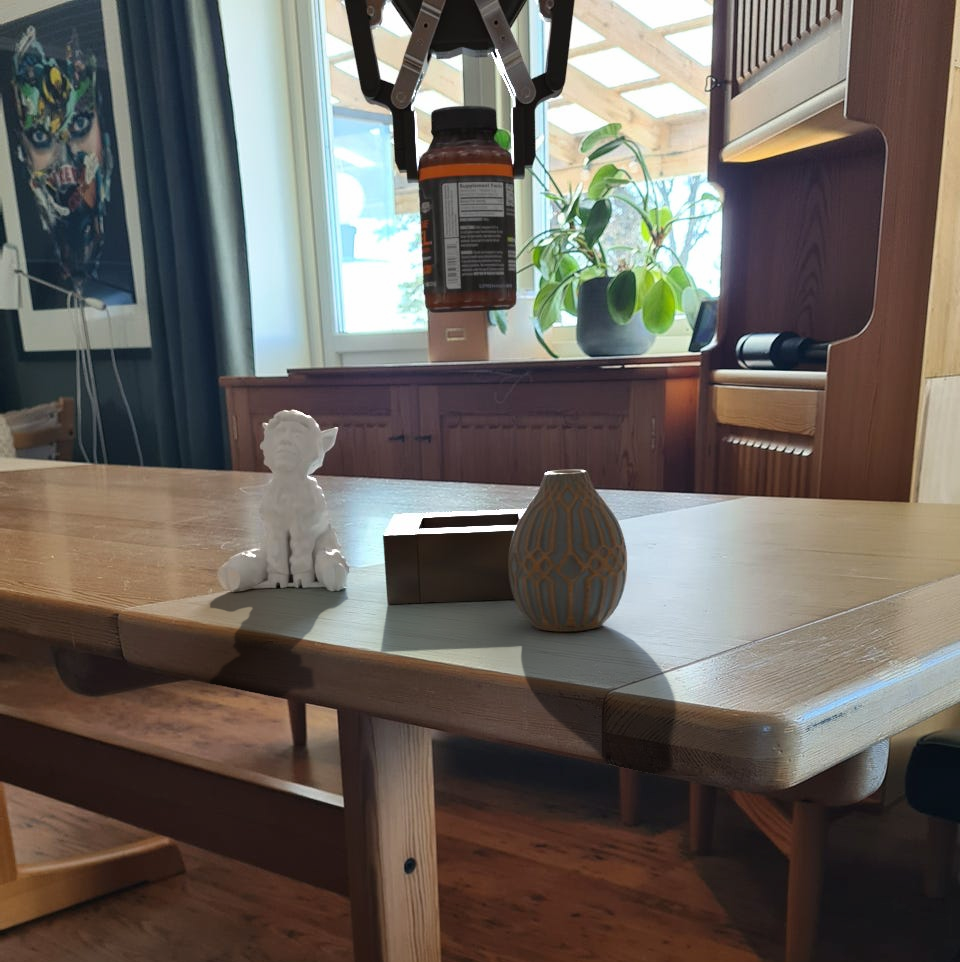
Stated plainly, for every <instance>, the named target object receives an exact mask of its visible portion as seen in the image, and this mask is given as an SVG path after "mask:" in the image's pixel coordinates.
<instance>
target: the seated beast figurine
mask: <svg viewBox="0 0 960 962" xmlns="http://www.w3.org/2000/svg"><path fill="white" fill-rule="evenodd" d="M261 425H262V428H263V429H264V430H263V435H264V437H263V441H261V442H260V444H259V449H260V450H261V451H262V453H263V457H264V458H263V465H264V466H266V467H267V468H268V469H269V470H270V471H271V473H272V474H273V476H271V478H270V479H269V481H268V482H266V483H265V484H264V486H263V489H264V490H263V491H264V493H263V495H262V496H261V501H260V504H259V508H258V512H259V514H260V515H261V520H262V521H263V522H264V525H265V526H264V531H265V534H264V535H263V536H262V537H260V545H259V546H258V547H257V548H252V549H249V550H245V551H244V550H243V551H241V552H240V553H239V552H238V553H237V554H235V555H232V556H231V557H229V558H228V561H226V562H225V563H224V564H223V565H221V566H220V567H219V568H218V569H217V574H216V575H217V579H218V583H219V585H220V586H221V588H222V589H224V590H226V591H229V592H231V593H236V592H244V591H247V590H252V589H270V588H271V589H276V588H277V587H279V586H280V587H279V588H281V589H284V588H287V587H295V588H297V589H298V588H300V587H302V588H303V589H304V588H305V589H306V588H326V589H327V591H330V592H335V591H336V592H340V591H341V590H344V588H345V587H347V584H348V575H349V573H350V566H349V564H348V563H347V558H346V557H344V555H343V552H342V547H343V546H342V545H341V543H340V542H339V537H338V535H337V534H336V533H337V532H336V530H335V528H334V527H333V525H332V522H331V520H330V519H329V512H328V509H327V507H328V504H327V502H326V496H325V495H324V494H323V493H324V490H323V488H322V487H320V486H319V484H318V483H319V482H318V481H317V479H316V478H314V477H311V476H309V475H312V474H313V473H314V472H316V470H317V469H319V468H322V466H323V463H324V458H325V456H326V455H325V454H326V452H329V451H330V450H331V449H332V448H333V447H334V445H335V443H336V439H337V435H338V431H339V427H333V428H328V429H325V430H321V429H320V426H319V424H318V423H317V421H316V420H315V418H313V417H312V416H311V415H306V414H304V413H303V412H301V411H298V410H295V409H291V410H286V409H284V410H280V411H278V412H276V413H275V414H274V415H273V418H270V419H269V420H268V423H267V422H262V424H261Z"/></svg>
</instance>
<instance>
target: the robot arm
mask: <svg viewBox="0 0 960 962" xmlns="http://www.w3.org/2000/svg"><path fill="white" fill-rule="evenodd" d="M343 1H344V7H345V11H346V18H347V24H348V27H349V33H350V38H351V44H352V49H353V55H354V59H355V60H354V61H355V65H356V71H357V75H358V81H359V87H360V90H361V93H362V96H363V97H364V100H365V101H366V102H367V103H368V104H370V105H373V106H377V107H381V108H383V109H386V110H387V111H389V113H390V115H391V117H392V118H391V119H392V134H393V136H392V137H393V152H394V153H393V154H394V163H395V165H396V168H397V170H398V173H399V174H405V173H406V181H407V184H419V180H418V163H419V148H418V147H419V146H418V145H419V144H418V143H419V142H418V123H417V113H416V110H415V109H414V105H415V102H416V100H417V97H418V95H419V91H420V88H421V86H422V83H423V81H424V79H425V77H426V75H427V72H428V69H429V66H430V63H431V61H432V59H433V57H436V60H449V59H450V60H451V59H452V58H455V57H458V56H461V55H463V56H468V57H470V58H474V59H475V58H476V59H477V58H488V57H489V55H492V57H493V59H494V62H495V64H496V66H497V69H498V71H499V73H500V75H501V76H502V78H503V80H504V82H505V84H506V86H507V88H508V91H509V93H510V96H511V98H512V100H513V106H512V107H511V112H510V118H511V119H510V120H511V123H510V124H511V157H512V160H513V172H514V181H515V180H516V181H517V180H524V179H525V178H526V169H533V166H534V163H535V159H536V156H537V153H536V151H537V149H536V148H537V146H536V145H537V144H536V143H537V142H536V109H537V107H538V106H539V105H540V104H541V103H544V102H546V101H548V100H550V99H556V98H558V97H559V96H561V95H562V93H563V90H564V86H565V84H566V79H567V72H568V62H569V53H570V45H571V35H572V26H573V19H574V10H575V1H576V0H535V2H536V4H537V7H538V15H539V17H540V19H541V20H542V21H544V22H545V23H549V31H548V40H547V48H546V49H547V50H546V58H545V59H546V60H545V67H544V72H543V73H541V74H539V75H537V76H535V77H533V78H532V77H531V75H530V73H529V70H528V68H527V65H526V64H525V62H524V59H523V56H522V53H521V50H520V48H519V44H518V43H517V41H516V39H515V36H514V34H513V32H512V29H511V28H512V27H513V25H514V24H515V22H516V21H517V18H518V17H519V15H520V13H521V12H522V10H523V8H524V6H525V5H526V4H527V1H528V0H343ZM389 4H392V6H393V7H394V9H395V10H396V12H397V13H398V15H399V16H400V18H401V19H402V21H403V22H404V23H405V25H406V26H407V28H408V29H409V31H410V32H411V35H410V36H409V37H410V38H409V39H408V40H409V41H408V43H407V45H406V49H405V51H404V55H403V58H402V62H401V65H400V68H399V72H398V74H397V77H396V79H395V82H394V83H392V82H390V81H387V80H384V79H383V78H381V73H380V72H381V71H380V68H379V61H378V57H377V51H376V50H377V49H376V45H375V40H374V34H373V30H376V29H378V28H380V26H381V25H382V23H383V21H384V20H383V19H384V18H383V16H384V15H383V12H384V9H385V8H386V6H387V5H389Z"/></svg>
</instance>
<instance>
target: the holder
mask: <svg viewBox="0 0 960 962" xmlns="http://www.w3.org/2000/svg"><path fill="white" fill-rule="evenodd" d="M525 510H526V508H524V509H523V508H522V509H499V510H497V509H496V510H477V511H452V512H450V511H449V512H429V513H428V512H426V513H402V514H394V515H393V516H392V517H391V520H390V521H389V524H388V525H387V528H386V530H385V531H384V533H383V535H382V542H383V543H382V544H383V558H384V570H385V571H384V573H385V587H386V603H387V605H407V604H408V603H411V604H430V603H429V602H436V603H457V602H459V603H460V602H481V601H482V602H483V601H485V602H486V601H505V600H506V601H508V600H515V599H514V596H513V593H512V590H511V586H510V580H509V569H508V556H509V548H510V543H511V539H512V535H513V532H514V529H515V527H516V524H517V522H518V521H519V519H520V517H521V516H522V514H523V513H524V511H525ZM408 605H409V604H408Z"/></svg>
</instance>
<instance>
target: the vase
mask: <svg viewBox="0 0 960 962" xmlns="http://www.w3.org/2000/svg"><path fill="white" fill-rule="evenodd" d="M525 509H526V510H525V511H524V513H523V514H522V516H521V517H520V519H519V521H518V522H517V524H516V527H515V529H514V532H513V535H512V539H511V543H510V548H509V556H508V569H509V580H510V586H511V590H512V593H513V596H514V599H513V600H514V601H515V603H516V605H517V607H518V610H519V611H520V612H521V613H522V615H523V616H524V617H525V618H526V619H527V621H528V622H529V623H531V625H533V626H534V627H535V628H536V629H539V630H542V631H548V632H563V633H564V632H565V633H569V632H570V633H571V632H582V631H588V630H593V629H598V628H599V627H601V626H602V625H604V624H605V623H606V621H607V620H609V618H610V617H611V616H612V615H613V614H614V612H615V611H616V610H617V608H618V606H619V604H620V602H621V600H622V597H623V593H624V591H625V587H626V582H627V575H628V551H627V545H626V540H625V536H624V533H623V530H622V528H621V525H620V523H619V521H618V518H617V517H616V516H615V514H614V513H613V511H612V510H611V509H610V507H609V505H608V504H607V503H606V501H605V500H604V499H603V498H602V497H601V495H600V494H599V493H598V491H597V490H596V488H595V486H594V484H593V482H592V480H591V478H590V475H589V472H588V471H587V470H584V469H558V470H550V471H547V472H545V473H544V476H543V478H542V481H541V483H540V486H539V488H538V490H537V492H536V493H535V494H534V496H533V498H532V499H531V500H530V502H529V503H528V505H527V506H526V507H525Z"/></svg>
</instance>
